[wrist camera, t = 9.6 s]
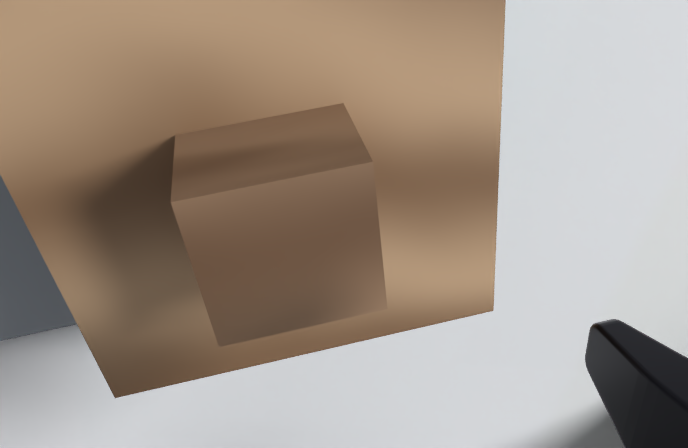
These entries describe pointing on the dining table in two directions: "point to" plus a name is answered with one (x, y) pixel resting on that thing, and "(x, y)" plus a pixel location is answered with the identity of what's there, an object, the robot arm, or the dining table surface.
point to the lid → (253, 171)
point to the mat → (25, 279)
